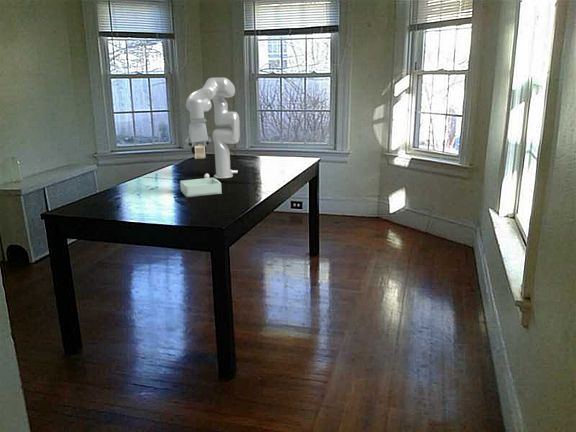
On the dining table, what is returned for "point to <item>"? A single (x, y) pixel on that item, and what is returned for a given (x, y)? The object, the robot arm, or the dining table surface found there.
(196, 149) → the drawer
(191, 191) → the bin
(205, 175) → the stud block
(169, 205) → the dining table surface
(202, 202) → the dining table surface
